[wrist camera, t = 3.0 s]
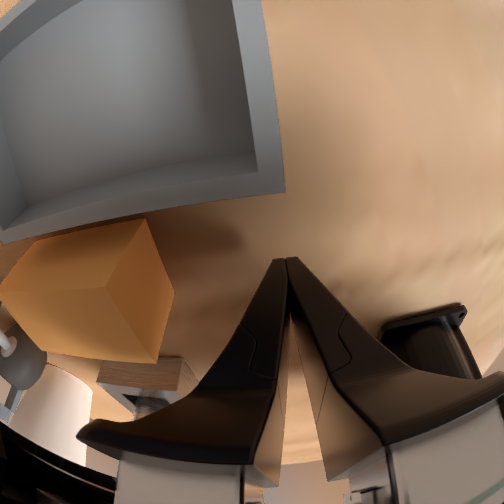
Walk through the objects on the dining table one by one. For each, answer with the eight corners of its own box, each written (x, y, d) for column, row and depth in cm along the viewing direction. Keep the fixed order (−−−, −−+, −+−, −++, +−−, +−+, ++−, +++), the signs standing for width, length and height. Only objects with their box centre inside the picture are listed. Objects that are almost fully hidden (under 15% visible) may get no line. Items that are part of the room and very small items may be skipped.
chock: (146, 216, 10) (104, 287, 7) (175, 290, 12) (156, 363, 9) (36, 239, 11) (-6, 292, 7) (70, 296, 13) (41, 350, 10)
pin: (167, 370, 17) (148, 478, 10) (178, 385, 18) (165, 483, 12) (137, 368, 17) (115, 469, 10) (151, 383, 18) (134, 476, 12)
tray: (243, -57, 4) (240, -92, 2) (277, 162, 9) (285, 192, 7) (-7, 62, 5) (-46, 72, 3) (33, 214, 9) (2, 245, 7)
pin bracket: (182, 357, 15) (176, 391, 14) (207, 395, 19) (205, 422, 17) (105, 353, 16) (96, 382, 14) (141, 391, 20) (136, 415, 18)
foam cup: (22, 361, 20) (-10, 453, 9) (41, 345, 17) (-2, 471, 6) (85, 403, 24) (65, 491, 14) (121, 399, 21) (100, 513, 11)
